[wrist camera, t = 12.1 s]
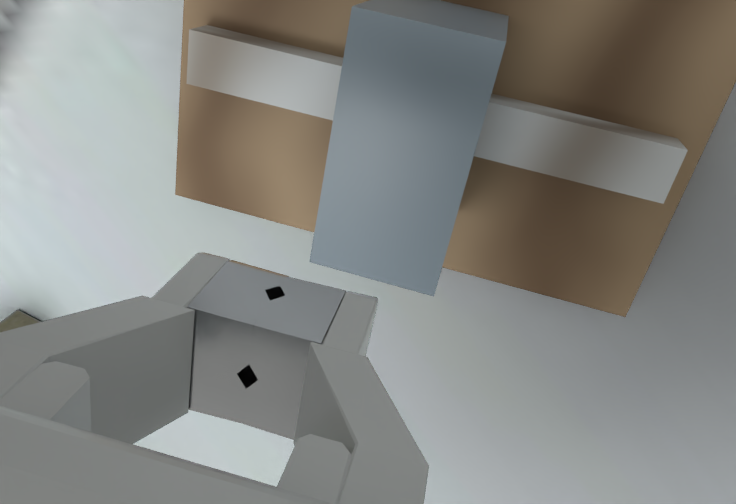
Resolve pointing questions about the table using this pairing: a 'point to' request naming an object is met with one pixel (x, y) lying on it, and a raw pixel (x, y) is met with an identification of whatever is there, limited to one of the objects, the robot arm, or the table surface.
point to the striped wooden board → (498, 134)
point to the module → (404, 137)
